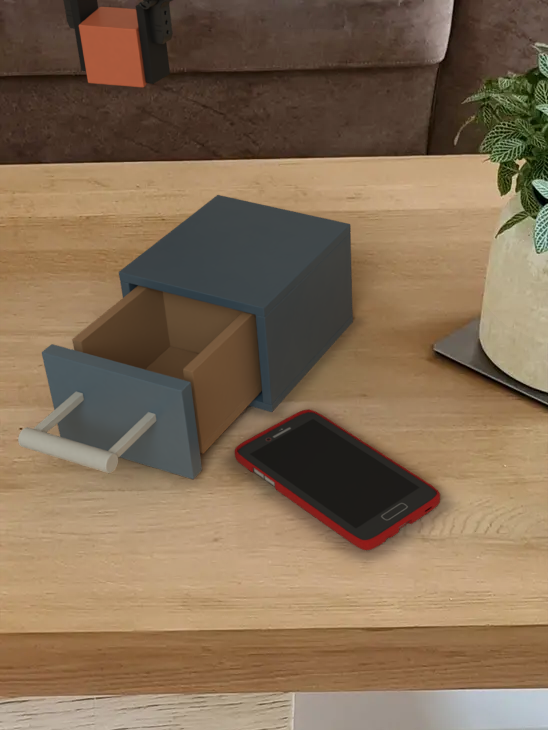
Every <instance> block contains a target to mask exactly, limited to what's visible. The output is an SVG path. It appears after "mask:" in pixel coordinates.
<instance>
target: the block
mask: <svg viewBox="0 0 548 730" xmlns="http://www.w3.org/2000/svg"><path fill="white" fill-rule="evenodd" d="M79 30H80V36H81V42H82V48H83V55H84V61H85V67H86V71H85V73H86V78H87V83H88V84H96V85H108V86H119V87H120V86H122V87H132V88H133V87H134V88H145V87H146V86H147V84H148V83H146V82H145V74H144V66H143V59H142V51H141V44H140V36H139V28H138V21H137V13H136V8H125V7H113V6H112V7H111V6H100V7H99V6H98V9H97V10H96V11H95V12H94V13H92V14H91V15H90V16H89V17H88V18H86V19H85V20H84V21H83V22H82V23H81V24H79Z"/></svg>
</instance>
